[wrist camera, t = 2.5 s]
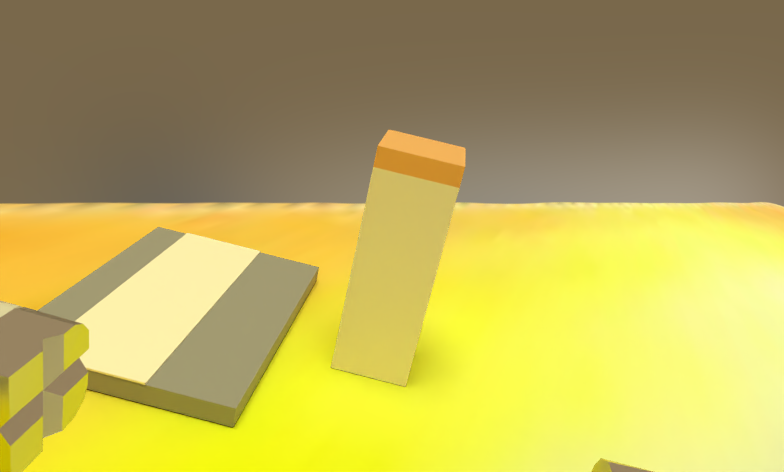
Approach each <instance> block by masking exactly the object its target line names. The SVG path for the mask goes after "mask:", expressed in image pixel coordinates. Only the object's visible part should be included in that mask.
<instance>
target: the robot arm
mask: <svg viewBox="0 0 784 472" xmlns="http://www.w3.org/2000/svg"><path fill="white" fill-rule="evenodd" d="M88 349H89V330H88V328H87V327H86V326H85V325H84V324H82V323H79V322H75V321H72V320H68V319H65V318H61V317H58V316H54V315H50V314H47V313H43V312H40V311H36V310H33V309H29V308H26V307H21V306H18V305H14V304H10V303H6V302H3V301H0V472H22V471H23V470H24V469H25V468H26V467H27V466H28V465H29V464H30V463H31V462H32V461H33V460H34V459H35V458H36V457H37V456H38V455H39V454H40V453H41V452H42V451H43V438H44V437H47V436H49V435H52V434H54V433H57V432H60V431H62V430H63V429H64V428H65V427H66V426H67V425H68V424H69V423H70V422H71V420H72V419H73V418H74V417H75V415H76V413H77V411H78V410H79V408H80V406H81V404H82V402H83V400H84V397H85V393H86V389H87V386H88V371H87V369H86V368H85V366H84V364H83V363H82V361H81V360H80V358H79V357H81V356H82V355H83V354H84V353H85V352H86V351H87V350H88ZM592 472H653V471H649V470H645V469H641V468H637V467H633V466H629V465H625V464H621V463H618V462H614V461H610V460H606V459H602V458H601V459H600V460H599V461H598V462H597V463H596V464H595V465H594V468H593V470H592Z"/></svg>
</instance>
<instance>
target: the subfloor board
mask: <svg viewBox="0 0 784 472" xmlns="http://www.w3.org/2000/svg"><path fill="white" fill-rule="evenodd" d="M318 269H319V267H315V266H311V265H308V264H304V263H300V262H296V261H292V260H288V259H284V258H280V257H276V256H272V255H268V254H264V253H260V251H258V250H254V249H250V248H246V247H242V246H238V245H234V244H230V243H226V242H222V241H218V240H214V239H210V238H206V237H202V236H198V235H194V234H190V233H187V234H184V233H180V232H176V231H172V230H169V229H165V228H161V227H158V228H156V229H155V230H153V231H152V232H150V233H149V234H147V235H146V236H145V237H143V238H142V239H140V240H139V241H137V242H136V243H134V244H133V245H132V246H130V247H129V248H127V249H126V250H124V251H123V252H121V253H120V254H119V255H117V256H116V257H114V258H113V259H111V260H110V261H108V262H107V263H106V264H104V265H103V266H101V267H100V268H98V269H97V270H95V271H94V272H93V273H91V274H90V275H88V276H87V277H85V278H84V279H82V280H81V281H80V282H78V283H77V284H75V285H74V286H72V287H71V288H69V289H68V290H67V291H65V292H64V293H62V294H61V295H59V296H58V297H56V298H55V299H54V300H52V301H51V302H49V303H48V304H46V305H45V306H43V307H42V308H41V309H39V310H38V311H40V312H43V313H47V314H50V315H54V316H58V317H61V318H65V319H68V320H72V321H75V322H79V323H82V324H84V325H85V326H86V327H87V328H88V330H89V349H88V350H87V351H86V352H85V353H84V354H83V355H82V356H81V357H79V358H80V360H81V361H82V363H83V364H84V366H85V368H86V369H87V371H88V386H87V389H89V390H93V391H97V392H101V393H104V394H108V395H112V396H116V397H120V398H123V399H127V400H131V401H135V402H139V403H142V404H146V405H150V406H154V407H158V408H162V409H165V410H169V411H173V412H177V413H181V414H184V415H188V416H192V417H196V418H200V419H203V420H207V421H211V422H215V423H219V424H222V425H226V426H230V427H234V425H235V423H236V421H237V420H238V418H239V416H240V414H241V413H242V411H243V409H244V407H245V406H246V404H247V402H248V400H249V399H250V397H251V395H252V393H253V392H254V390H255V388H256V386H257V384H258V383H259V381H260V379H261V377H262V376H263V374H264V372H265V370H266V369H267V367H268V365H269V363H270V362H271V360H272V358H273V356H274V354H275V353H276V351H277V349H278V347H279V346H280V344H281V342H282V340H283V339H284V337H285V335H286V333H287V332H288V330H289V328H290V326H291V325H292V323H293V321H294V319H295V317H296V316H297V314H298V312H299V310H300V309H301V307H302V305H303V303H304V302H305V300H306V298H307V296H308V295H309V293H310V291H311V289H312V287H313V286H314V284H315V282H316V280H317V275H318Z"/></svg>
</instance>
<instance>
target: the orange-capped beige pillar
mask: <svg viewBox="0 0 784 472" xmlns="http://www.w3.org/2000/svg"><path fill="white" fill-rule="evenodd" d="M464 169H465V148H463V147H459V146H455V145H451V144H447V143H443V142H439V141H434V140H430V139H426V138H422V137H418V136H414V135H410V134H405V133H401V132H397V131H393V130H388V132H387V133H386V135H385V136H384V137H383V139H382V140H381V142H380V143H379V145H378V148H377V152H376V157H375V161H374V166H373V171H372V176H371V180H370V185H369V190H368V195H367V199H366V204H365V209H364V213H363V218H362V223H361V228H360V232H359V237H358V242H357V247H356V251H355V256H354V261H353V265H352V270H351V275H350V280H349V284H348V289H347V294H346V299H345V303H344V308H343V313H342V317H341V322H340V327H339V332H338V336H337V341H336V346H335V351H334V355H333V360H332V365H331V368H334V369H338V370H342V371H346V372H350V373H354V374H358V375H362V376H366V377H369V378H373V379H377V380H381V381H385V382H389V383H393V384H397V385H401V386H404V387H406V383H407V380H408V376H409V372H410V369H411V365H412V361H413V357H414V354H415V350H416V346H417V343H418V339H419V335H420V332H421V328H422V324H423V321H424V317H425V313H426V309H427V306H428V302H429V298H430V295H431V291H432V287H433V284H434V280H435V276H436V273H437V269H438V265H439V261H440V258H441V254H442V250H443V247H444V243H445V239H446V236H447V232H448V228H449V225H450V221H451V217H452V213H453V210H454V206H455V202H456V199H457V195H458V191H459V188H460V184H461V180H462V177H463V173H464Z"/></svg>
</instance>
